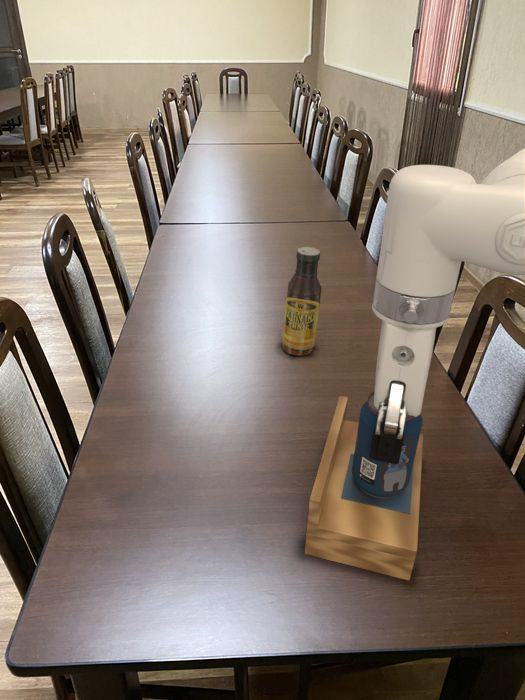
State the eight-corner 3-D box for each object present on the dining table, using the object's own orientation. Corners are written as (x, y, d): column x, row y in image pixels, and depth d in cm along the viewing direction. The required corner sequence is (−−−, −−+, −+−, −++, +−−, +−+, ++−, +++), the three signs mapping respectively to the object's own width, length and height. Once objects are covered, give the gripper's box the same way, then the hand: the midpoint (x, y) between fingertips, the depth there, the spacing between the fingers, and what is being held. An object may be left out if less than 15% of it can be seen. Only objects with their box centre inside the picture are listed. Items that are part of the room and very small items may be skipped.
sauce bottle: (278, 355, 100) (283, 254, 90) (285, 339, 106) (290, 242, 95) (313, 360, 99) (322, 258, 89) (318, 343, 104) (327, 246, 94)
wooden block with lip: (417, 461, 76) (428, 411, 72) (409, 580, 60) (423, 525, 55) (333, 444, 79) (339, 395, 74) (304, 554, 63) (309, 499, 58)
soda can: (371, 453, 70) (384, 377, 64) (418, 481, 66) (437, 403, 60) (339, 481, 66) (349, 402, 59) (387, 512, 62) (404, 431, 55)
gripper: (453, 347, 45) (417, 497, 54) (451, 270, 59) (423, 399, 68) (363, 333, 47) (343, 481, 56) (382, 262, 61) (363, 388, 70)
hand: (387, 435), depth 62 cm, fingers open, 7 cm apart
